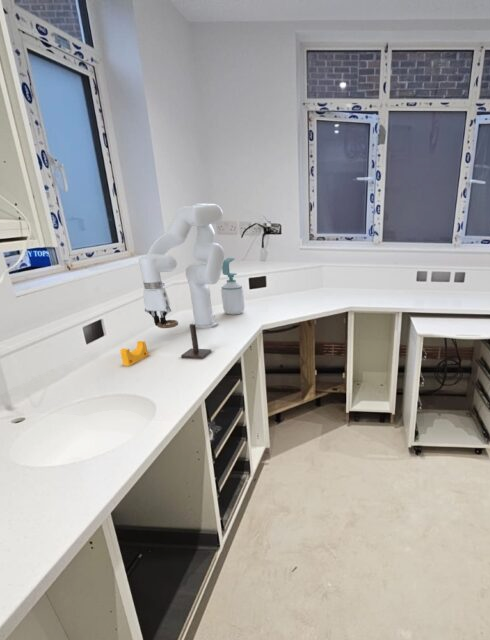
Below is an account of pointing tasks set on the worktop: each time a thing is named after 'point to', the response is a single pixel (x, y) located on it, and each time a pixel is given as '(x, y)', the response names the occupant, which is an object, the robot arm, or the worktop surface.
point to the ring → (168, 324)
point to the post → (195, 347)
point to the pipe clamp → (134, 354)
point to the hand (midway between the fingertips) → (160, 324)
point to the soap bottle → (231, 292)
